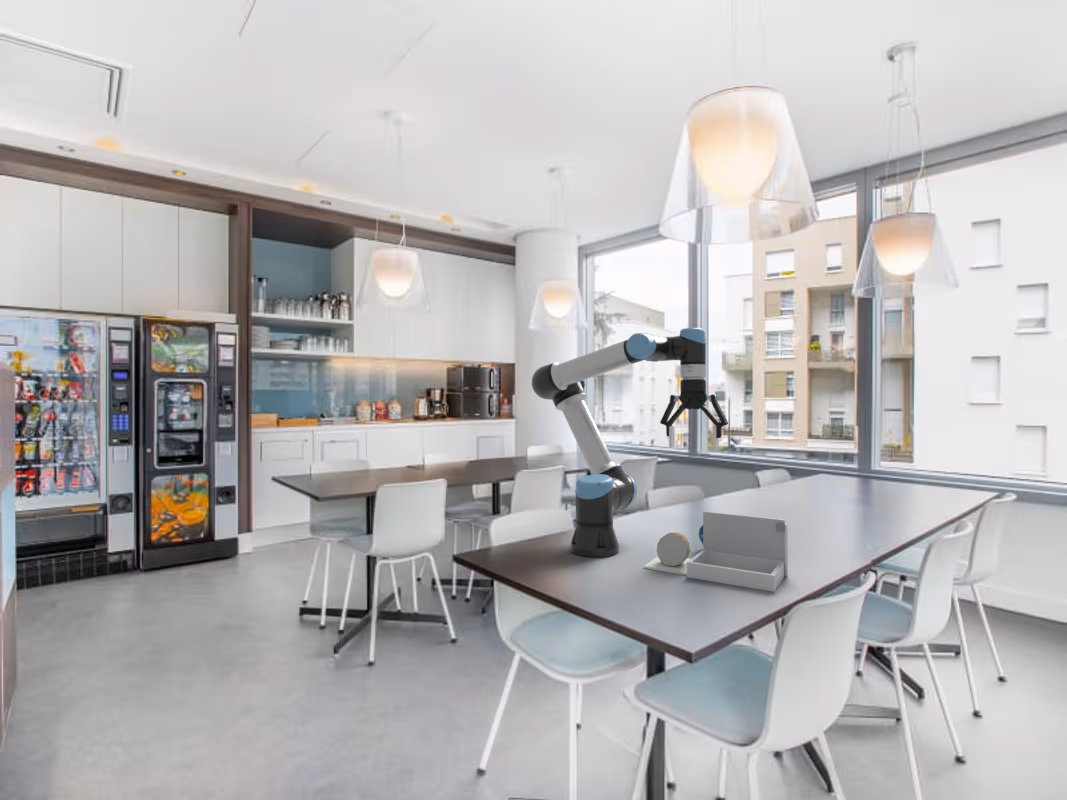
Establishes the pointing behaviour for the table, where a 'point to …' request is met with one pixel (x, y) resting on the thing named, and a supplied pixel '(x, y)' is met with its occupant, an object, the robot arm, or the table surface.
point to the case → (742, 551)
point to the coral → (673, 549)
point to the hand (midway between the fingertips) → (693, 448)
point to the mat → (659, 566)
